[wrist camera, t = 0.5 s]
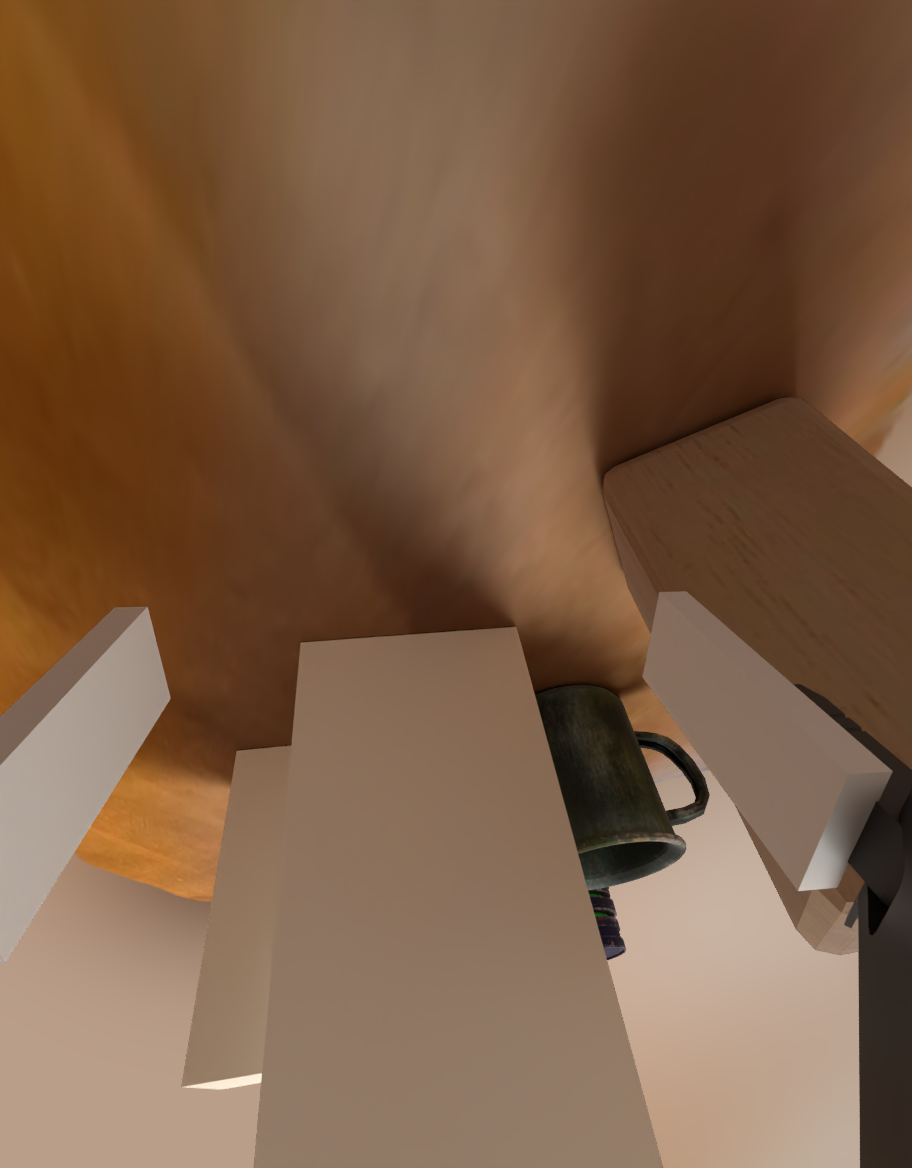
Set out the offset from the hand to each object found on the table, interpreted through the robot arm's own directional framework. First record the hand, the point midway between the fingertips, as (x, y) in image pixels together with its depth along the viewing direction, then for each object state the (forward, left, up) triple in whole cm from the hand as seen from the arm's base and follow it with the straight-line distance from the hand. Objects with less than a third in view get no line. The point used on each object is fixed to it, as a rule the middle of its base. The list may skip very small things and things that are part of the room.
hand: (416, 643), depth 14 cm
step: (+33, -7, -13) cm, 36 cm away
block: (+6, +17, -13) cm, 22 cm away
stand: (+21, +1, -13) cm, 25 cm away
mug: (+28, +15, -13) cm, 34 cm away
